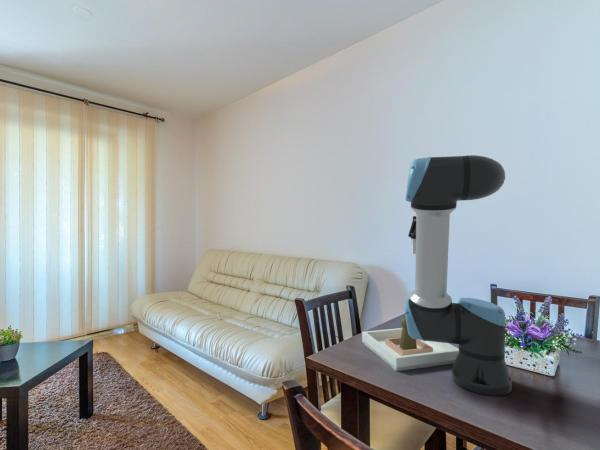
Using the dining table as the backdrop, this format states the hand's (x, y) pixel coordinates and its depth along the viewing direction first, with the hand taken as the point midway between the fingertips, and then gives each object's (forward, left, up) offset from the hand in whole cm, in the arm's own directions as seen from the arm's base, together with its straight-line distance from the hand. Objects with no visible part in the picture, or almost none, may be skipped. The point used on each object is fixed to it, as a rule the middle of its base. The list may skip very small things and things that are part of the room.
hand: (424, 255), depth 134 cm
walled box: (-16, +18, -32) cm, 40 cm away
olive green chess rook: (-16, +18, -31) cm, 39 cm away
